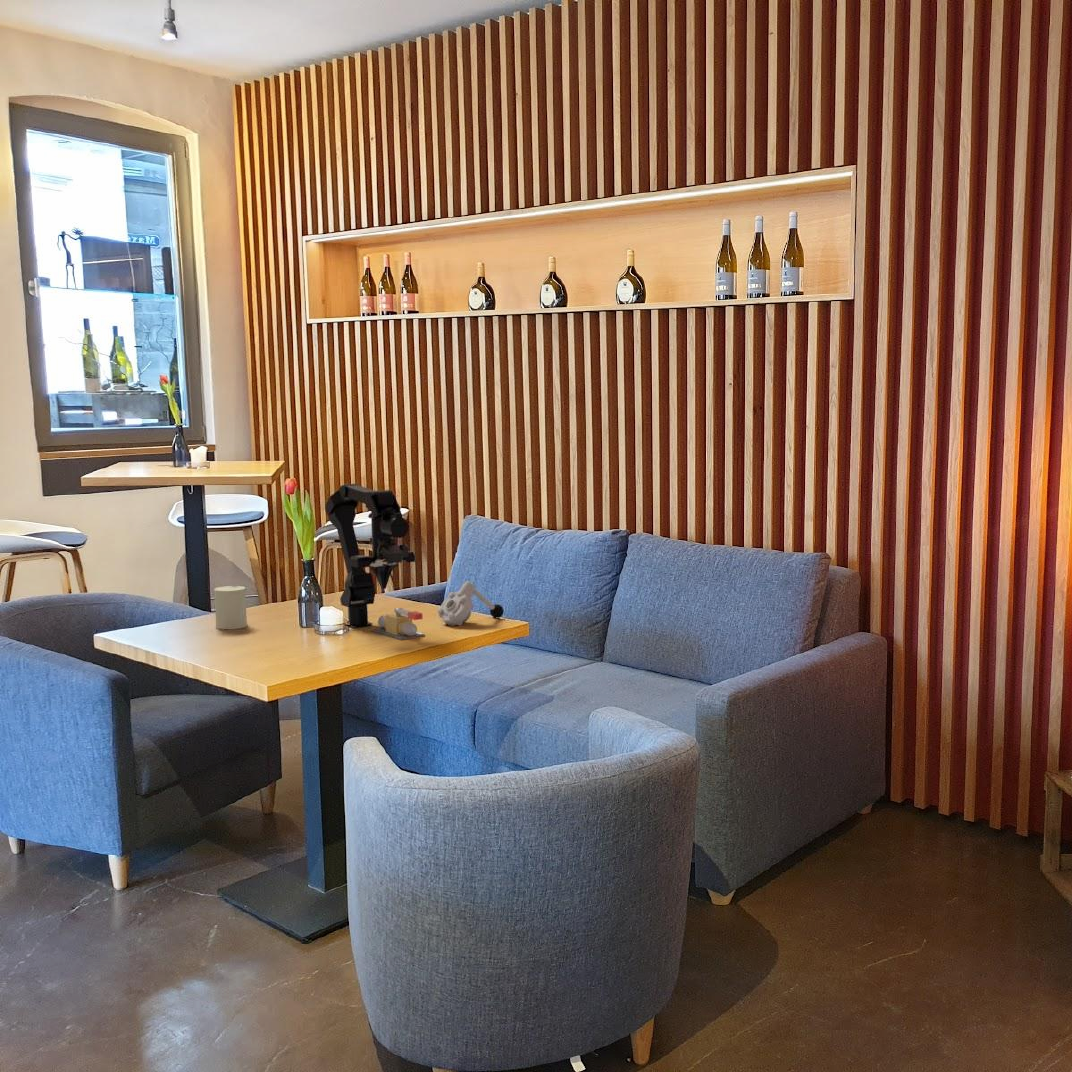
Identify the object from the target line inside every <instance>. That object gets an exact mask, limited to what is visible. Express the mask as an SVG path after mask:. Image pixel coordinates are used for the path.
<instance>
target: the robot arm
mask: <svg viewBox="0 0 1072 1072" xmlns="http://www.w3.org/2000/svg"><path fill="white" fill-rule="evenodd" d="M396 498H397V497H396V496H395V494H394V492H393V491H392V490H390V489H386V490H385V489H383V490H375V489H370V488H367V487H364V486H361V485H358V484H356V483H347V484H346V483H345V484H343V485H340V487H339V488H338V490H337V491H335V492H334V493H332V494H331V495H330V496H329V498H328V500H327V502H325V506H324V509H325V513H326V515H327V517H328V521H329V522H330V523H331V524H332V525H333V527H335V528H336V531H337V534H338V538H339V543H340V544H339V545H340V547H341V552H342V555H343V560H344V564H345V569H346V573H347V576H346V578H345V581H344V591H343V592H342V594H341V596H340V598H339V600H340V606H344V607H347V618H348V619H347V620H349V622H350V626H349V627H351V628H359V627H365V626H371V625H373V623H372V622H370V621H369V616H368V611H369V610H368V605H374V602H375V596H376V592H377V591H376V590H377V589H376V585H375V582H374V579H373V574H374V576H375V577H376V580H377V582H378V585H379V587H380V588H381V590H385V589H386V588H387V586H388V583H389V580H390V578H391V577H390V576H391V573H392V571H393V570H395V568H396V567H399V564H400V563H403V561H404V562H405V563H414V562H415V563H416V559H417V558H416V553H414V551H410V550H409V545H408V544H407V543H405V544H403V543H402V544H400V545H397V544H396V540H395V538H397V539H402V538H404V537H405V536H407V534H408V532H409V529H410V525H409V523H408V521H407V519H405V517H403V513H402V511H401V506H400V504H399V503H398V500H397V499H396ZM360 503H362V504H364V505H365V508H367V510H369V511H370V513H369V514H368V516H367V517H368V518H369V519H370V520H371V537H370V538H369V542H371V547H372V549H371V552H370V551H369V555H370V556H368V555H363V554H361V553H360V549H359V545H358V539H357V536H356V533H355V527H354V521H355V518H356V516H357V512H356V510H357V508H358V506H359V504H360ZM397 563H399V564H397ZM364 568H370V570H371V571H372V572H373V574H372V573H371V572H367V571H366V570H365V569H364Z"/></svg>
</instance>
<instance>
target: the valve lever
mask: <svg viewBox="0 0 1072 1072" xmlns="http://www.w3.org/2000/svg"><path fill="white" fill-rule="evenodd" d="M393 610H394V611H393V612H394V613H393V614H396V613H399V614H402V615H406V616H408V618H410V619H412V621H417V620H423V612H419V611H416V610H413V611H411V610H406V609H404V608H402V607H397V608H394V609H393Z"/></svg>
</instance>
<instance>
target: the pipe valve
mask: <svg viewBox="0 0 1072 1072" xmlns="http://www.w3.org/2000/svg"><path fill="white" fill-rule="evenodd" d="M377 625H378V626H379V627H375V628H374V627H373V628H370V631H371V632H374V633H377V634H381V635H383V636H386V637H389V638H392V639H396V640H399V641H403V640H409V639H410V640H411V639H416V638H422V637H426V634H425V633H422V632H418V628H417V625H416V624H415V623H413V619H410V618H408V616H406V615H402V614H399V613H393V614H383V615H380V616H379V617H378V620H377Z"/></svg>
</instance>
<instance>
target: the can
mask: <svg viewBox="0 0 1072 1072" xmlns="http://www.w3.org/2000/svg"><path fill="white" fill-rule="evenodd" d="M213 591H214V592H213V593H214V607H215V609H214V610H215V628H216V629H218V630H224V629H229V630H239V629H243V628H247V627H248V619H247V618H248V617H247V600H246V599H247V597H246V596H247V595H246V594H247V593H246V587H245V586H242V585H227V586H224V585H223V586H219V587H215V588H214V589H213Z"/></svg>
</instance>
